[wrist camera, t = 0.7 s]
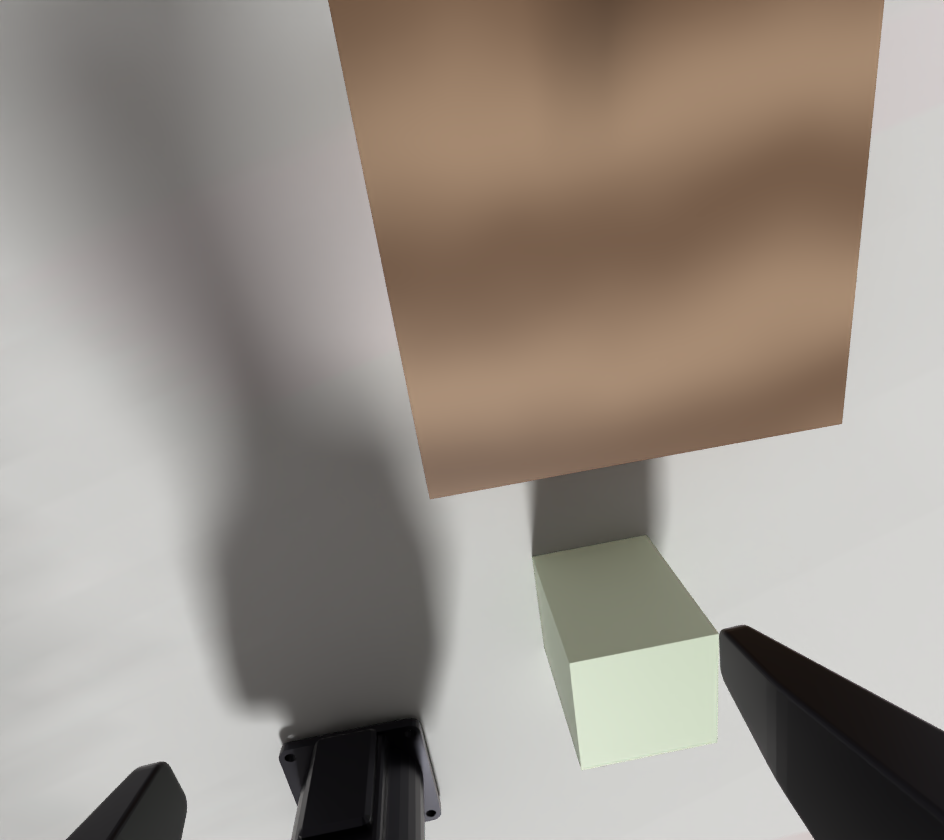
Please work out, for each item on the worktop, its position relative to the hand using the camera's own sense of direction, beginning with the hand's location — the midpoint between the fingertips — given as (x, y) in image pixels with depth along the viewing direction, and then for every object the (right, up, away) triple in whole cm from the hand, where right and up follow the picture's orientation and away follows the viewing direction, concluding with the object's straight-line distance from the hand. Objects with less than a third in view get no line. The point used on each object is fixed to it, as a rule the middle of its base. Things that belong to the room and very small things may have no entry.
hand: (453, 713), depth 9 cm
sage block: (+6, -3, +16) cm, 17 cm away
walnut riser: (+4, +11, +11) cm, 16 cm away
